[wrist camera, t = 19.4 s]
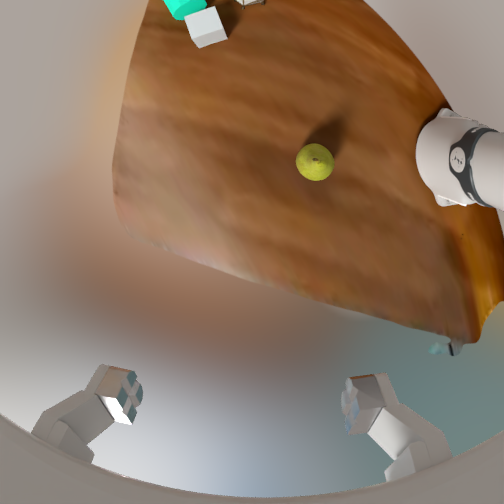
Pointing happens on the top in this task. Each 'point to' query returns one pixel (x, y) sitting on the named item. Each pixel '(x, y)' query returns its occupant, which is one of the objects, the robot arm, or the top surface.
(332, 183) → the top surface
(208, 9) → the grey block
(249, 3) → the game die
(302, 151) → the fruit
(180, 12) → the candle
